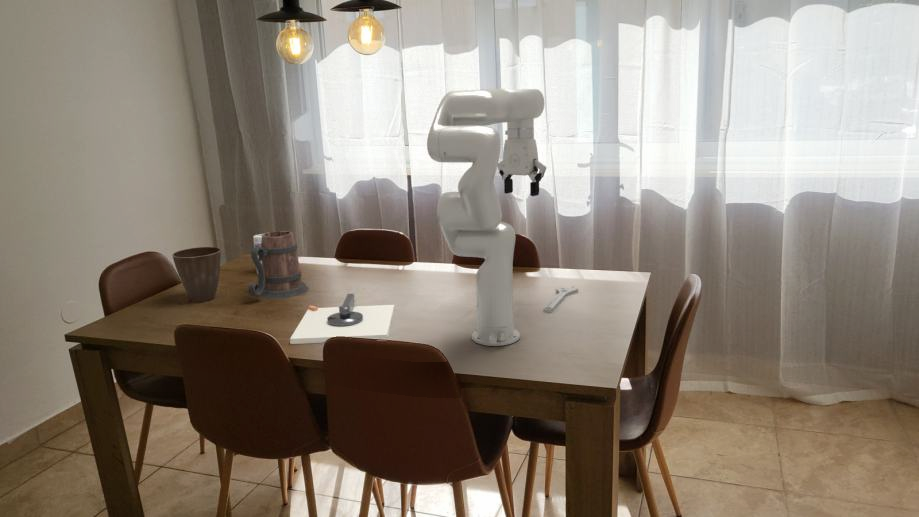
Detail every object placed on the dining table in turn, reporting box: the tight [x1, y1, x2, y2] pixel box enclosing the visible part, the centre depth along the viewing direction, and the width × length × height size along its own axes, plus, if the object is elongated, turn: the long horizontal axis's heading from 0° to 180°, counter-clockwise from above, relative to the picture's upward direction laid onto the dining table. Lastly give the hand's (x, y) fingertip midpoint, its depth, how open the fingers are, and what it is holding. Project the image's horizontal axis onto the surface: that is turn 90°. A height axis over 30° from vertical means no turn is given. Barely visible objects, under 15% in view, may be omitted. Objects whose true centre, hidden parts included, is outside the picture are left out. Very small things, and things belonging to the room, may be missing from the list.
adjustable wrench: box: [542, 285, 579, 314], centre depth 216 cm, size 25×6×2 cm, turn 151°
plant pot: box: [171, 246, 222, 303], centre depth 230 cm, size 15×15×16 cm
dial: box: [327, 292, 363, 326], centre depth 204 cm, size 19×10×4 cm, turn 1°
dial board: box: [289, 304, 396, 345], centre depth 203 cm, size 30×26×2 cm
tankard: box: [247, 230, 310, 300], centre depth 232 cm, size 24×17×20 cm
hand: (521, 194), depth 204 cm, fingers open, 9 cm apart
